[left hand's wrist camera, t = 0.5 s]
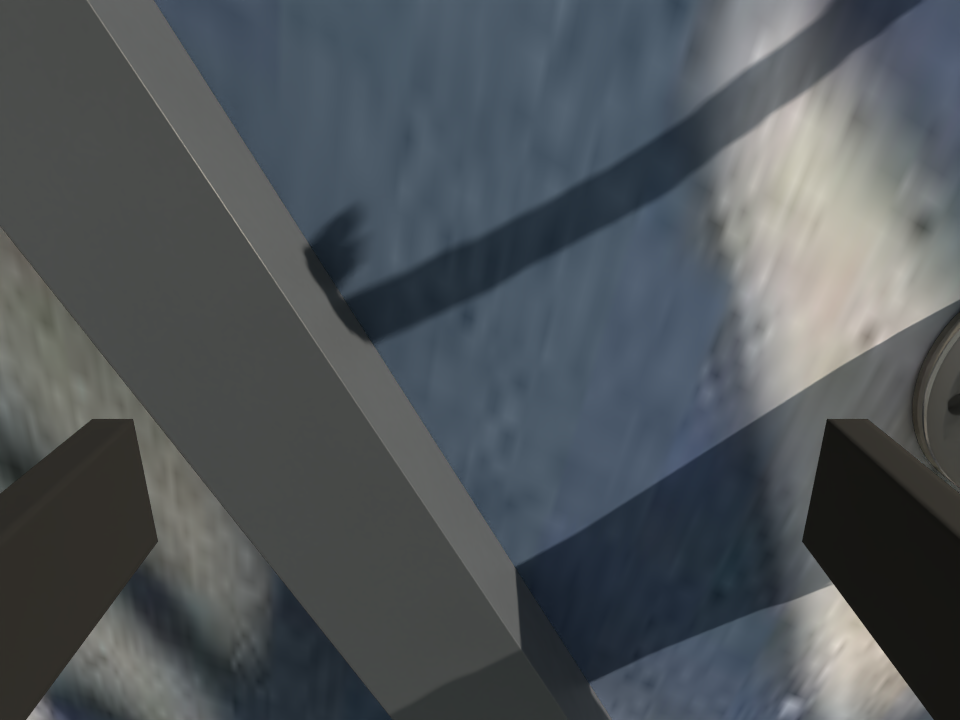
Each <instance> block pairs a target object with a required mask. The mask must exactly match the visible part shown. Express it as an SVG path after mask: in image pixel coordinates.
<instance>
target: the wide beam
mask: <svg viewBox="0 0 960 720" xmlns="http://www.w3.org/2000/svg"><path fill="white" fill-rule="evenodd" d="M0 226H1V228H2V229H3V230H4V231H5V233H6V234H7V235H8V236H9V238H10V239H11V240H12V241H13V243H14V244H15V245H16V246H17V248H18V249H19V250H20V251H21V253H22V254H23V255H24V256H25V258H26V259H27V260H28V261H29V263H30V264H31V265H32V267H33V268H34V269H35V270H36V272H37V273H38V274H39V275H40V277H41V278H42V279H43V280H44V282H45V283H46V284H47V285H48V287H49V288H50V289H51V290H52V292H53V293H54V294H55V295H56V297H57V298H58V299H59V300H60V302H61V303H62V304H63V306H64V307H65V308H66V309H67V311H68V312H69V313H70V314H71V316H72V317H73V318H74V319H75V321H76V322H77V323H78V324H79V326H80V327H81V328H82V329H83V331H84V332H85V333H86V334H87V336H88V337H89V338H90V339H91V341H92V342H93V343H94V345H95V346H96V347H97V348H98V350H99V351H100V352H101V353H102V355H103V356H104V357H105V358H106V360H107V361H108V362H109V363H110V365H111V366H112V367H113V368H114V370H115V371H116V372H117V373H118V375H119V376H120V377H121V378H122V380H123V381H124V382H125V384H126V385H127V386H128V387H129V389H130V390H131V391H132V392H133V394H134V395H135V396H136V397H137V399H138V400H139V401H140V402H141V404H142V405H143V406H144V407H145V409H146V410H147V411H148V412H149V414H150V415H151V416H152V417H153V419H154V420H155V421H156V423H157V424H158V425H159V426H160V428H161V429H162V430H163V431H164V433H165V434H166V435H167V436H168V438H169V439H170V440H171V441H172V443H173V444H174V445H175V446H176V448H177V449H178V450H179V451H180V453H181V454H182V455H183V456H184V458H185V459H186V460H187V462H188V463H189V464H190V465H191V467H192V468H193V469H194V470H195V472H196V473H197V474H198V475H199V477H200V478H201V479H202V480H203V482H204V483H205V484H206V485H207V487H208V488H209V489H210V490H211V492H212V493H213V494H214V495H215V497H216V498H217V499H218V501H219V502H220V503H221V504H222V506H223V507H224V508H225V509H226V511H227V512H228V513H229V514H230V516H231V517H232V518H233V519H234V521H235V522H236V523H237V524H238V526H239V527H240V528H241V529H242V531H243V532H244V533H245V534H246V536H247V537H248V538H249V540H250V541H251V542H252V543H253V545H254V546H255V547H256V548H257V550H258V551H259V552H260V553H261V555H262V556H263V557H264V558H265V560H266V561H267V562H268V563H269V565H270V566H271V567H272V568H273V570H274V571H275V572H276V573H277V575H278V576H279V577H280V579H281V580H282V581H283V582H284V584H285V585H286V586H287V587H288V589H289V590H290V591H291V592H292V594H293V595H294V596H295V597H296V599H297V600H298V601H299V602H300V604H301V605H302V606H303V607H304V609H305V610H306V611H307V612H308V614H309V615H310V616H311V618H312V619H313V620H314V621H315V623H316V624H317V625H318V626H319V628H320V629H321V630H322V631H323V633H324V634H325V635H326V636H327V638H328V639H329V640H330V641H331V643H332V644H333V645H334V646H335V648H336V649H337V650H338V651H339V653H340V654H341V655H342V657H343V658H344V659H345V660H346V662H347V663H348V664H349V665H350V667H351V668H352V669H353V670H354V672H355V673H356V674H357V675H358V677H359V678H360V679H361V680H362V682H363V683H364V684H365V685H366V687H367V688H368V689H369V690H370V692H371V693H372V694H373V696H374V697H375V698H376V699H377V701H378V702H379V703H380V704H381V706H382V707H383V708H384V709H385V711H386V712H387V713H388V714H389V716H390V717H391V718H392V719H393V720H612V719H611V718H610V716H609V714H608V713H607V711H606V710H605V708H604V707H603V705H602V703H601V702H600V700H599V699H598V697H597V696H596V694H595V692H594V691H593V689H592V688H591V686H590V685H589V683H588V681H587V680H586V678H585V677H584V675H583V674H582V672H581V670H580V669H579V667H578V666H577V664H576V663H575V661H574V659H573V658H572V656H571V655H570V653H569V652H568V650H567V648H566V647H565V645H564V644H563V642H562V641H561V639H560V637H559V636H558V634H557V633H556V631H555V630H554V628H553V626H552V625H551V623H550V622H549V620H548V619H547V617H546V616H545V614H544V612H543V611H542V609H541V608H540V606H539V605H538V603H537V601H536V600H535V598H534V597H533V595H532V594H531V592H530V590H529V589H528V587H527V586H526V584H525V583H524V581H523V579H522V578H521V576H520V575H519V573H518V572H517V570H516V568H515V567H514V565H513V564H512V562H511V561H510V559H509V557H508V556H507V554H506V553H505V551H504V550H503V548H502V546H501V545H500V543H499V542H498V540H497V539H496V537H495V535H494V534H493V532H492V531H491V529H490V528H489V526H488V524H487V523H486V521H485V520H484V518H483V517H482V515H481V513H480V512H479V510H478V509H477V507H476V506H475V504H474V502H473V501H472V499H471V498H470V496H469V495H468V493H467V491H466V490H465V488H464V487H463V485H462V484H461V482H460V481H459V479H458V477H457V476H456V474H455V473H454V471H453V470H452V468H451V466H450V465H449V463H448V462H447V460H446V459H445V457H444V455H443V454H442V452H441V451H440V449H439V448H438V446H437V444H436V443H435V441H434V440H433V438H432V437H431V435H430V433H429V432H428V430H427V429H426V427H425V426H424V424H423V422H422V421H421V419H420V418H419V416H418V415H417V413H416V411H415V410H414V408H413V407H412V405H411V404H410V402H409V400H408V399H407V397H406V396H405V394H404V393H403V391H402V389H401V388H400V386H399V385H398V383H397V382H396V380H395V378H394V377H393V375H392V374H391V372H390V371H389V369H388V367H387V366H386V364H385V363H384V361H383V360H382V358H381V356H380V355H379V353H378V352H377V350H376V349H375V347H374V346H373V344H372V342H371V341H370V339H369V338H368V336H367V335H366V333H365V331H364V330H363V328H362V327H361V325H360V324H359V322H358V320H357V319H356V317H355V316H354V314H353V313H352V311H351V309H350V308H349V306H348V305H347V303H346V302H345V300H344V298H343V297H342V295H341V294H340V292H339V291H338V289H337V287H336V286H335V284H334V283H333V281H332V280H331V278H330V276H329V275H328V273H327V272H326V270H325V269H324V267H323V265H322V264H321V262H320V261H319V259H318V258H317V256H316V254H315V253H314V251H313V250H312V248H311V247H310V245H309V243H308V242H307V240H306V239H305V237H304V236H303V234H302V232H301V231H300V229H299V228H298V226H297V225H296V223H295V221H294V220H293V218H292V217H291V215H290V214H289V212H288V211H287V209H286V207H285V206H284V204H283V203H282V201H281V200H280V198H279V196H278V195H277V193H276V192H275V190H274V189H273V187H272V185H271V184H270V182H269V181H268V179H267V178H266V176H265V174H264V173H263V171H262V170H261V168H260V167H259V165H258V163H257V162H256V160H255V159H254V157H253V156H252V154H251V152H250V151H249V149H248V148H247V146H246V145H245V143H244V141H243V140H242V138H241V137H240V135H239V134H238V132H237V130H236V129H235V127H234V126H233V124H232V123H231V121H230V119H229V118H228V116H227V115H226V113H225V112H224V110H223V108H222V107H221V105H220V104H219V102H218V101H217V99H216V97H215V96H214V94H213V93H212V91H211V90H210V88H209V86H208V85H207V83H206V82H205V80H204V79H203V77H202V76H201V74H200V72H199V71H198V69H197V68H196V66H195V65H194V63H193V61H192V60H191V58H190V57H189V55H188V54H187V52H186V50H185V49H184V47H183V46H182V44H181V43H180V41H179V39H178V38H177V36H176V35H175V33H174V32H173V30H172V28H171V27H170V25H169V24H168V22H167V21H166V19H165V17H164V16H163V14H162V13H161V11H160V10H159V8H158V6H157V5H156V3H155V2H154V0H0Z"/></svg>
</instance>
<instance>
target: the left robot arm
mask: <svg viewBox="0 0 960 720" xmlns="http://www.w3.org/2000/svg"><path fill="white" fill-rule="evenodd" d="M157 542H158V540H157V535H156V530H155V525H154V520H153V515H152V510H151V505H150V500H149V495H148V491H147V486H146V481H145V476H144V471H143V466H142V461H141V456H140V451H139V446H138V441H137V437H136V432H135V427H134V422H133V419H92V420H91V421H90V422H88V423H87V424H86V425H85V426H83V427H82V428H81V429H80V430H78V431H77V432H76V433H75V434H73V435H72V436H71V437H70V438H69V439H67V440H66V441H65V442H64V443H62V444H61V445H60V446H59V447H57V448H56V449H55V450H54V451H52V452H51V453H50V454H49V455H47V456H46V457H45V458H44V459H43V460H41V461H40V462H39V463H38V464H36V465H35V466H34V467H33V468H31V469H30V470H29V471H28V472H26V473H25V474H24V475H23V476H22V477H20V478H19V479H18V480H17V481H15V482H14V483H13V484H12V485H10V486H9V487H8V488H7V489H5V490H4V491H3V492H2V493H1V494H0V720H26V719H27V718H28V716H29V715H30V714H31V712H32V711H33V710H34V708H35V707H36V706H37V704H38V703H39V702H40V700H41V699H42V697H43V696H44V695H45V693H46V692H47V691H48V689H49V688H50V687H51V685H52V684H53V683H54V681H55V680H56V679H57V677H58V676H59V674H60V673H61V672H62V670H63V669H64V668H65V666H66V665H67V664H68V662H69V661H70V660H71V658H72V657H73V656H74V654H75V653H76V651H77V650H78V649H79V647H80V646H81V645H82V643H83V642H84V641H85V639H86V638H87V637H88V635H89V634H90V633H91V631H92V630H93V628H94V627H95V626H96V624H97V623H98V622H99V620H100V619H101V618H102V616H103V615H104V614H105V612H106V611H107V610H108V608H109V607H110V605H111V604H112V603H113V601H114V600H115V599H116V597H117V596H118V595H119V593H120V592H121V591H122V589H123V588H124V587H125V585H126V584H127V582H128V581H129V580H130V578H131V577H132V576H133V574H134V573H135V572H136V570H137V569H138V568H139V566H140V565H141V564H142V562H143V561H144V559H145V558H146V557H147V555H148V554H149V553H150V551H151V550H152V549H153V547H154V546H155V545H156V543H157ZM802 542H803V543H804V545H805V546H806V547H807V549H808V550H809V551H810V553H811V554H812V555H813V557H814V558H815V559H816V561H817V562H818V564H819V565H820V566H821V568H822V569H823V570H824V572H825V573H826V574H827V576H828V577H829V578H830V580H831V581H832V582H833V584H834V585H835V587H836V588H837V589H838V591H839V592H840V593H841V595H842V596H843V597H844V599H845V600H846V601H847V603H848V604H849V605H850V607H851V608H852V610H853V611H854V612H855V614H856V615H857V616H858V618H859V619H860V620H861V622H862V623H863V624H864V626H865V627H866V628H867V630H868V631H869V633H870V634H871V635H872V637H873V638H874V639H875V641H876V642H877V643H878V645H879V646H880V647H881V649H882V650H883V651H884V653H885V654H886V656H887V657H888V658H889V660H890V661H891V662H892V664H893V665H894V666H895V668H896V669H897V670H898V672H899V673H900V674H901V676H902V677H903V679H904V680H905V681H906V683H907V684H908V685H909V687H910V688H911V689H912V691H913V692H914V693H915V695H916V696H917V697H918V699H919V700H920V702H921V703H922V704H923V706H924V707H925V708H926V710H927V711H928V712H929V714H930V715H931V716H932V718H933V719H934V720H960V494H959V493H958V492H957V491H956V490H955V489H953V488H952V487H951V486H950V485H948V484H947V483H946V482H945V481H943V480H942V479H941V478H940V477H938V476H937V475H936V474H935V473H934V472H932V471H931V470H930V469H929V468H927V467H926V466H925V465H924V464H922V463H921V462H920V461H919V460H917V459H916V458H915V457H914V456H912V455H911V454H910V453H909V452H908V451H906V450H905V449H904V448H903V447H901V446H900V445H899V444H898V443H896V442H895V441H894V440H893V439H891V438H890V437H889V436H888V435H887V434H885V433H884V432H883V431H882V430H880V429H879V428H878V427H877V426H875V425H874V424H873V423H872V422H870V421H869V420H868V419H827V422H826V427H825V432H824V437H823V441H822V446H821V451H820V456H819V461H818V466H817V471H816V476H815V481H814V486H813V491H812V495H811V500H810V505H809V510H808V515H807V520H806V525H805V530H804V535H803V540H802Z"/></svg>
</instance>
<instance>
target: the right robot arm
mask: <svg viewBox="0 0 960 720" xmlns="http://www.w3.org/2000/svg"><path fill="white" fill-rule="evenodd" d="M912 413H913V424H914V430H915V434H916V437H917V440H918V443H919V445H920V447H921V449H922V451H923V453H924V454H925V456H926V458H927V459H928V460H929V461H930V463H931V464H932V465H933V466H934V467H935V468H936V469H937V470H938V471H939V472H940V473H941V474H942V475H944V476H945V477H946V478H947V479H949V480H950V481H951V482H952V483H954V484H955V485H956V486H958V487H959V488H960V312H959V313H958V314H957V315H956V316H955V317H954V318H953V319H952V320H951V321H950V322H949V324H948V325H947V326H946V327H945V328H944V329H943V331H942V332H941V334H940V335H939V336H938V338H937V339H936V341H935V342H934V344H933V345H932V347H931V349H930V350H929V352H928V354H927V356H926V358H925V360H924V362H923V364H922V367H921V370H920V372H919V375H918V378H917V382H916V385H915V390H914V396H913V407H912Z"/></svg>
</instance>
